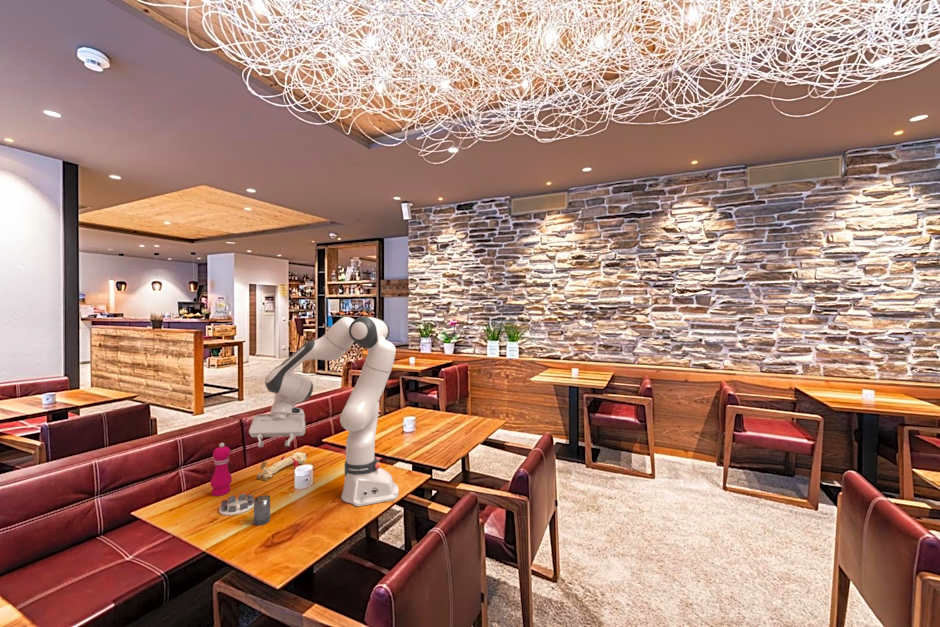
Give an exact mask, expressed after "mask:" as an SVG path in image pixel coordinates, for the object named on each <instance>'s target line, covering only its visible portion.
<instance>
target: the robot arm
mask: <svg viewBox="0 0 940 627" xmlns="http://www.w3.org/2000/svg"><path fill="white" fill-rule="evenodd" d="M390 332H391V330H390V326H389V324H388V323H387V322H386V321H384V320H383V319H381V318H377V317H373V316H372V317H371V316H360V317H358V318H356V319H354V318H352V317H350V316H344V317H341V318H339V319H338V320H337V321H336V322H335V323H334V324H333V325H332V326H331V327H330V328H329V329H328V330H327V331H326V332H325V334H323V335H322V336H321V337H319V338H317V339H315V340H309V341H307V342H306V343H304V344H303V345H301V346H300V347H299V348H298V349H296V351H294V352H293V353H292V354H291V355H290V356H288V357H287V358H286V359H285V360H284V361H283V362H282V363H281V364H279V365H278V366H276V367H274V368H273V369H272V370H271V371H269V372H268V374H267V375H266V378H265V380H264V384H265V387H266V389H267V391H268V392H270V393H273V394H274V398H273V399H274V401H273V403H272V405H271V409H270V411H269V413H264V414H262V413H258V414H256V415H254V416H253V417H252V420H251V425H250V427H249V429H248V434H249V435H250V437H251V438H257V439H258V444H257V447H258V448H263V447H264V445H265V442H264V440H263V438H273V437H275V438H277V437H288V439H287V440H285V441H284V447H290V446H291V442H293V441H294V439H295V437H303V436H304V435H305V434H306V425H307V424H306V420H305V419H306V415H305V412H304V409H303V408H299V407H296V404H300V403H303V402H305V401H307V400H308V399H310V397H311V396H312V394H313V390H314V384H313V381H312V380H310V379H308V378H307V377H305V376H302V375H299V374H296V373H294V372H293V371H295V370H296V369H297V368H298V367H299V366H300V365H301V364H303V363H304V362H306V361H308V360H320V361H327V362H328V361H329V362H330V361H336V360H339V359H341V357H343V356H344V354H345V353H346V352H347V351H348V350H349V349H350V347H351V346H352V345H353V344H354V343H356V344H358V345H359V346H360V347H361V348H363V349H364V350H367V356H366V357H365V359H364V360H365V361H364V363H363V365H362V369H361V370H360V373H359V377H358V379H357V381H356V384H355V385H354V387H353V389H352V391H351V393H350V395H349V397H348V399H347V400H346V403H345V405H344V408H343V410H341V411H342V412H341V413H340V416H339V422H340V425H341V427H342V429H345V430H346V431H348V434H347V438H346V442H345V446H346V447H345V461H344V468H343V469H344V482H343V483H344V484H343V489H342V492H341V500H342V501H343V502H345V503H349V504H352V505H353V506H355V507H362V506H368V505H373V504H379V503H383V502H391V501H394V500H396V499H397V498H398V497H399V493H400V490H399V489H400V488H399V486H398V485H397V483H395V482H394V480H393V476H392V475H391V473H390V472H389V471H387V470H385V469H383V468H382V467H381V463H380V458H379V457H377V458H376V457H375V456H376V455H375V454H376V453H375V451H376V450H375V447H376V446H375V444H376V432H377V426H378V421H379V420H378V418H379V410H380V402H379V400H380V398H381V396H382V394H383V393H384V390H385V388H386V385H387V383H388V380H389V378H390V375H391V372H392V369H393V366H394V363H395V359H396V355H397V354H396V353H397V349H396V346H395V345H394V344H393V343H392V342H391V341H390V340H387V339H388V338H389V337H390Z"/></svg>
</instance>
